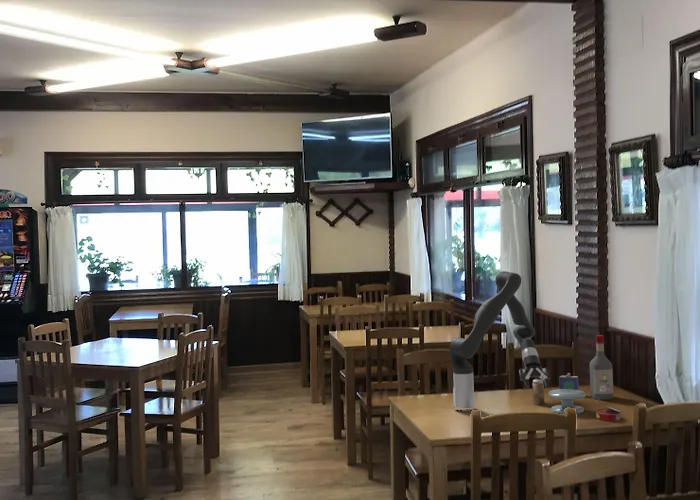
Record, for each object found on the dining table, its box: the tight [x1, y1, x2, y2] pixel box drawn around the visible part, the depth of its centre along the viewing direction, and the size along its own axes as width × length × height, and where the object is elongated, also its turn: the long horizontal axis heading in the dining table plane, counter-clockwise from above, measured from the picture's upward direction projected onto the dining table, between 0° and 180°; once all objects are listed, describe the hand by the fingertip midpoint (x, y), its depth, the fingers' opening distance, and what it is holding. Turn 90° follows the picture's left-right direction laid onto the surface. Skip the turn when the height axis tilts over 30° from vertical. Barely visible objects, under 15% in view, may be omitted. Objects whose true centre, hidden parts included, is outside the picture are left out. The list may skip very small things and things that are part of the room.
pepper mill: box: [532, 378, 546, 406], centre depth 330 cm, size 5×5×11 cm
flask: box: [558, 372, 580, 390], centre depth 345 cm, size 9×3×11 cm, turn 78°
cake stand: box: [548, 388, 586, 415], centre depth 315 cm, size 16×16×8 cm
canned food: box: [595, 399, 621, 422], centre depth 300 cm, size 11×10×10 cm
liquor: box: [589, 334, 614, 401], centre depth 336 cm, size 9×9×30 cm
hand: (537, 387), depth 331 cm, fingers open, 8 cm apart
